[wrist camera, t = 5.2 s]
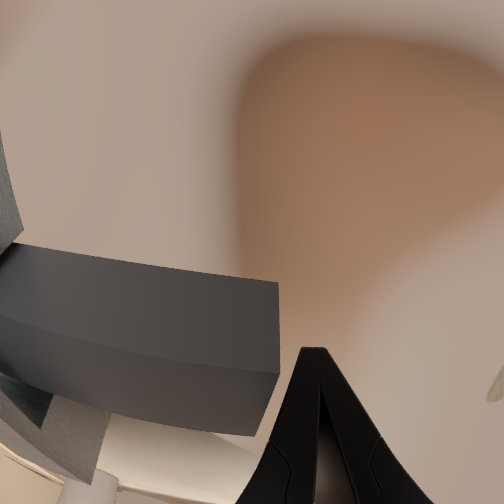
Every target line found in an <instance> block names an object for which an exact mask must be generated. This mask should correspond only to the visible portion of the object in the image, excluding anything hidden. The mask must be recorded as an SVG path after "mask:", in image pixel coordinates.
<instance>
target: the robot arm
mask: <svg viewBox="0 0 504 504" xmlns="http://www.w3.org/2000/svg"><path fill="white" fill-rule="evenodd" d="M314 502H315V504H434V503H433V502H432V501H431V500H430V499H429V498H428V497H427V496H426V495H425V494H424V492H423V491H422V490H421V489H420V487H418V485H417V484H416V483H415V481H414V480H413V479H412V478H411V477H410V475H409V474H408V473H407V472H406V470H405V469H404V468H403V467H402V465H401V464H400V463H399V461H398V460H397V459H396V457H395V456H394V454H393V453H392V451H391V450H390V448H389V447H388V445H387V444H386V442H385V441H384V439H383V438H382V437H381V435H380V433H379V431H378V430H377V428H376V427H375V425H374V423H373V422H372V420H371V419H370V417H369V415H368V414H367V412H366V411H365V409H364V407H363V406H362V404H361V402H360V401H359V399H358V398H357V396H356V395H355V393H354V391H353V390H352V389H351V387H350V385H349V384H348V382H347V380H346V379H345V377H344V376H343V374H342V373H341V371H340V369H339V368H338V366H337V365H336V363H335V362H334V360H333V358H332V357H331V355H330V354H329V352H328V351H327V349H326V348H324V347H301V349H300V352H299V355H298V358H297V361H296V364H295V367H294V370H293V374H292V376H291V380H290V382H289V385H288V388H287V391H286V394H285V397H284V400H283V403H282V405H281V408H280V411H279V414H278V416H277V419H276V422H275V424H274V427H273V430H272V432H271V435H270V438H269V441H268V443H267V445H266V448H265V450H264V453H263V455H262V457H261V459H260V462H259V464H258V466H257V468H256V470H255V472H254V474H253V475H252V477H251V479H250V481H249V482H248V484H247V486H246V487H245V489H244V490H243V492H242V494H241V495H240V497H239V498H238V500H237V501H236V503H235V504H314Z"/></svg>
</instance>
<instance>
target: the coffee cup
mask: <svg viewBox="0 0 504 504" xmlns="http://www.w3.org/2000/svg"><path fill="white" fill-rule="evenodd" d="M117 485H118V479H117V478H116V477H114V476H112V475H110V474H108V473H106V472H103V471H101V470H98V469H96V468H95V472H94V476H93V480H92V484H91V486H90V485H87V484H84V483H81V482H79V481H76V480H73V479H70V478H68V477H66V479H65V482H64V485H63V487H62V490H61V493H60V496H59V498H58V502H57V504H115V503H116V494H117Z"/></svg>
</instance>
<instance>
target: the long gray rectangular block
mask: <svg viewBox="0 0 504 504" xmlns="http://www.w3.org/2000/svg"><path fill="white" fill-rule="evenodd" d="M23 230H24V229H23V225H22V222H21V219H20V215H19V212H18V209H17V205H16V201H15V198H14V194H13V190H12V187H11V182H10V178H9V174H8V170H7V165H6V160H5V156H4V150H3V145H2V140H1V134H0V255H1V254H2V253H3V252H4V251H5V249H6V248H7V247H8V246H9V245H10V244H11V243H12V242H13V241H14V239H16V237H17V236H18V235H19V234H20V233H21V232H22V231H23ZM110 414H111V412H109V411H105V410H102V409H98V408H95V407H92V406H88V405H85V404H82V403H79V402H76V401H72V400H69V399H66V398H64V397H61V396H58V395H55V394H52V393H50V392H47V391H44V390H42V389H39V388H36V387H34V386H31V385H29V384H26V383H24V382H22V381H19V380H17V379H15V378H12V377H10V376H8V375H5V374H3V373H1V372H0V442H1V443H2V444H3V445H5V446H6V447H7V448H9V449H10V450H11V451H13V452H14V453H15V454H17V455H18V456H20V457H22V458H24V459H26V460H28V461H30V462H32V463H35V464H37V465H39V466H41V467H43V468H46V469H48V470H50V471H53V472H55V473H58V474H60V475H63V476H65V477H68V478H70V479H73V480H76V481H79V482H81V483H84V484H87V485H90V486H91V484H92V480H93V476H94V472H95V468H96V464H97V460H98V456H99V453H100V449H101V445H102V442H103V438H104V435H105V431H106V428H107V424H108V421H109V418H110Z"/></svg>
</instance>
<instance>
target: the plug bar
mask: <svg viewBox="0 0 504 504" xmlns="http://www.w3.org/2000/svg"><path fill="white" fill-rule="evenodd" d="M279 330H280V329H279V289H278V282H270V281H262V280H254V279H246V278H239V277H231V276H223V275H216V274H208V273H201V272H194V271H187V270H180V269H173V268H167V267H159V266H152V265H146V264H140V263H133V262H127V261H120V260H114V259H106V258H101V257H95V256H89V255H83V254H77V253H70V252H64V251H59V250H52V249H47V248H41V247H36V246H30V245H24V244H19V243H13V242H12V243H11V244H10V245H9V246H8V247H7V248H6V249H5V251H4V252H3V253H2V254H1V255H0V372H1V373H3V374H5V375H8V376H10V377H12V378H15V379H17V380H19V381H22V382H24V383H26V384H29V385H31V386H34V387H36V388H39V389H42V390H44V391H47V392H50V393H52V394H55V395H58V396H61V397H64V398H66V399H69V400H72V401H76V402H79V403H82V404H85V405H88V406H92V407H95V408H98V409H102V410H105V411H109V412H113V413H117V414H120V415H124V416H128V417H132V418H137V419H141V420H146V421H150V422H155V423H160V424H165V425H170V426H176V427H181V428H187V429H193V430H200V431H207V432H214V433H223V434H232V435H242V436H253V437H254V436H255V434H256V432H257V430H258V427H259V425H260V423H261V420H262V418H263V415H264V413H265V410H266V408H267V405H268V403H269V401H270V398H271V395H272V393H273V391H274V388H275V385H276V383H277V380H278V377H279V375H280V331H279Z"/></svg>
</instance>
